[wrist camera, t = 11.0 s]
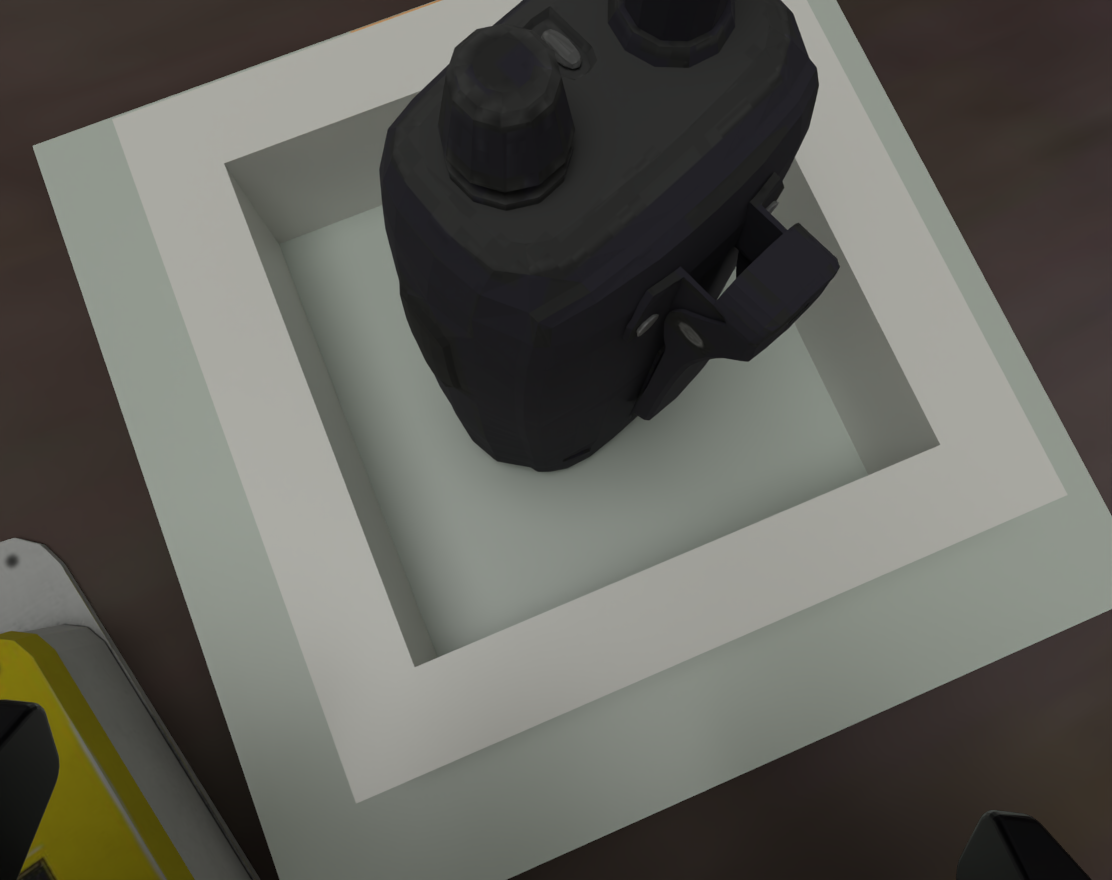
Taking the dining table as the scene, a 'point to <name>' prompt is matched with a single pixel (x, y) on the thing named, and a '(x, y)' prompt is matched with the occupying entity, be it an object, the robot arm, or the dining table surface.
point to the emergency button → (101, 743)
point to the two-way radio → (600, 212)
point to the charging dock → (551, 479)
